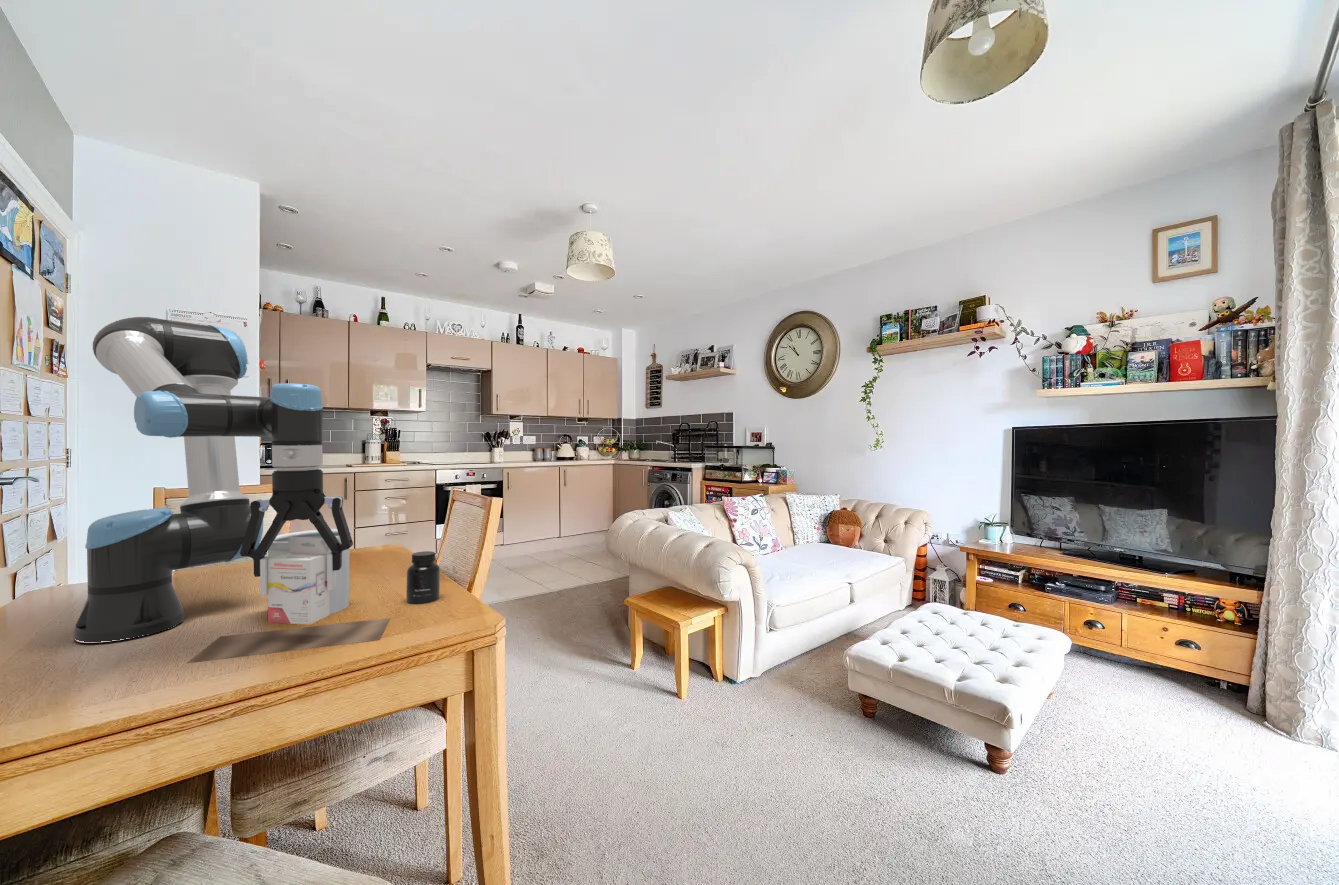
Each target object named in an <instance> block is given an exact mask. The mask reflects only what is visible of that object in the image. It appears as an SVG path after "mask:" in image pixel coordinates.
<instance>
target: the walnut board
mask: <svg viewBox="0 0 1339 885" xmlns="http://www.w3.org/2000/svg"><path fill="white" fill-rule="evenodd" d="M390 621H391V617H386V618H376V619H368V620H359V621H349V622H342V623H331V624H322V625H314V626H313V625H312V626H303V627H294V628H285V629H275V630H268V631H265V630H264V631H257V632H246V633H238V634H228V635H221V636H219V637H218V638H216V639H215V640H214V641H212V642H211V643H210V644H209V645H208V646H206V647H205V648H203V649H202V650H201V651H199V652H198V653H197V654H196V655H195V656H194V657H192V658H191V659H188V661H186V664H192V663H193V664H194V663H199V662H200V663H201V662H208V661H218V660H226V659H234V658H242V657H251V656H259V655H268V654H275V653H284V652H285V653H286V652H292V651H293V652H294V651H300V650H309V649H317V648H325V647H333V646H340V645H341V646H342V645H343V646H344V645H350V644H359V643H360V644H361V643H367V642H375V641H376V642H377V641H381V639H382V636H383V635H384V632H385V631H386V629H387V626H388V625H389V623H390Z"/></svg>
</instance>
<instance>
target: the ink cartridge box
mask: <svg viewBox="0 0 1339 885" xmlns="http://www.w3.org/2000/svg"><path fill="white" fill-rule="evenodd" d="M306 542H309V543H310V544H315V547H304V546H301V544H302V543H306ZM288 544H289V553H287V554H283V555H279V556H276V557H272V558H268V594H267V622H268V624H270V623H271V624H274V623H275V624H289V625H290V624H291V625H292V624H294V625H312V624H314V623H316V622H318V621H320V620H323V619H325V618H326V617H329V616H330V615H329V613H330V611H329V590H327V555H328V546H327V544H326V543H325V541H324V540H323V538H308V537H289V538H288Z"/></svg>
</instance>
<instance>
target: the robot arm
mask: <svg viewBox="0 0 1339 885" xmlns="http://www.w3.org/2000/svg"><path fill="white" fill-rule="evenodd" d="M92 351H93V355H94V356H95V358H96V360H97V362H99V364H101V366H102V367H104V368H105V369H106V370H107V371H108V372H110V373H113V374H115V375H117V376H118V377H119V378H120V379H121V380H122V382H123V383H124V384H125V385H126V386H127V388H129V390H130V391H131V392H132V394H134V396H135V397H136V398H135V401H134V407H133V418H134V422H135V424H136V425H135V428H136V429H137V431H138V432H139V433H140V434H142V435H144V436H147V437H165V438H170V439H171V438H183V441H184V455H185V456H184V457H185V463H186V464H185V466H186V476H187V479H186V480H187V490H188V492H187V493H188V497H186V498H187V499H185V501H183V502H182V503H181V504H180V505H179V508H180V513H173V511H172V509H170V508H167V507H154V508H150V509H146V508H145V509H139V510H134V511H133V510H132V511H127V512H122V513H118V514H117V513H116V514H112V515H108V516H105V517H101V518H99V519H97V520H95V521H93V522H91V524H90V525H89V526H88V528H87V532H86V533H87V534H86V542H85V549H86V557H87V558H86V562H87V563H86V564H87V565H86V566H87V569H86V570H87V576H86V577H87V598H86V600H85V603H84V605H83V608H82V610H81V612H80V615H79V617H78V619H77V621H76V623H75V626H74V628H73V629H74V630H73V632H74V635H73V639H74V638H75V639H76V640H79V641H84V642H101V641H112V640H120V639H126V638H133V637H138V636H142V635H147V634H151V635H153V634H152V633H155V634H157V633H156V632H158V633H160V632H159V631H162V630H165V629H168V628H170V629H172V628H171V627H173V626H175V625H177V626H178V624H179V623H181V622H182V621H183V620H185V610H184V609H185V608H184V607H183V604H182V603H181V600H180V598H179V596H178V594H177V592H176V589H175V587H174V586H173V571H177V570H182V569H189V568H195V567H201V566H206V565H213V564H214V565H215V564H219V563H228V562H231V561H235V560H239V559H245V558H251V559H252V560H253V576H254V577H255V578H260V579H259V581H260V583H259V584H260V585H259V586H260V587H259V588H260V590H259V592H260V597H265V596H268V558H271V556H268V550H269V548H270V546H271V545H272V543H273V541H274V540H275V538H276V536H277V535H279V533H280V532H281V530H282V528H283V527H284V525H285V524H286V523H287V522H289V521H295V520H300V521H306V520H307V521H308V520H309V522H310V523H311V524H312V525H313V526H314V528H315V530H317V531H318V532H319V534H320V535H321V537H322V538H323V540H324V541H325V543H326V544H327V546H328V547H329V549H330V550H331V552H330V553H329V554H328V555H327V590H332V589H333V588H334V587H335V586H336V570H340V569H341V567H342V551H344V550H347V549H349V550H350V549H351V548H352V547H353V546H354V542H353V538H352V535H350V533H351V531H350V529H349V526H348V522H347V520H346V516H345V514H344V513H345V512H344V510H343V506H344V505H343V504H344V498H343V497H342V496H336V497H334V496H333V497H332V496H331V497H330V496H327V495H325V493H324V471H323V470H322V469H321V468H320V467H322V466H324V464H323V462H324V461H323V409H324V404H323V401H322V400H323V399H322V390H321V388H320V387H319V386H317V385H313V384H306V383H292V382H291V383H288V382H287V383H286V382H285V383H283V382H282V383H281V382H280V383H275V384H273V385H272V386H271V391H270V392H271V393H270V396H253V395H252V396H251V395H232V393H231V391H232V389H234V388H235V387H236V386H238V384H239V379H242V378H244V376H245V375H246V373H247V371H248V366H247V364H248V354H247V349H246V347H245V344H244V342H243V340H242V338H241V337H240V335H238V334H237V333H236V332H235V331H234V330H232V329H228V328H223V327H217V326H215V325H212V324H208V325H205V324H200V323H199V324H198V323H191V322H184V321H177V320H170V319H161V318H157V317H150V316H136V317H135V316H134V317H127V318H122V319H118V320H115V321H113V322H111V323H109V324H107V325H105V326H104V327H102V328H101V329H100V330H99V331H98V332H97V333H96V335H95V336H94V338H93V341H92ZM236 437H248V438H249V437H250V438H251V437H252V438H253V437H257V438H258V437H259V438H271V460H272V461H271V463H272V464H271V465H272V466H271V467H273V468H276V470H274V471H273V472H271V474H272V475H271V476H272V478H271V479H272V480H271V481H272V482H271V483H272V484H271V485H272V486H271V487H272V491H271V492H272V495H271V497H270V499H256V500H253V501H251V502H250V497H248V496H247V495H245V494H244V493H242V492H241V490H240V489H241V488H240V479H239V470H238V467H239V466H238V458H237V449H236V447H237V445H236ZM324 504H326V505H327V508H328V509H330V510H331V514H332V517H333V521H334V524H335V527H336V529H337V530H338V534H339V537H340V540H341V543H342V544H340V543H339V541H338V540H337V538H336V537H335V535H334V534H333V532H332V531H331V529H332V528H330V526H329V524H328V523H327V522H326V520H325V518H324V515H323V513H322V512H321V511H320V509H321V508H322V507H323V506H324ZM269 507H271V508H272V509H273V510H274V511H275V512H276V515H275V517H274V518H273V520H272V522H271V524H270V526H269V528H268V529H267V531H266V532H265V534H264V536H263V533H264V518H265V514H266V512H267V511H268V510H269ZM349 531H350V532H349ZM266 555H267V556H266ZM183 622H184V621H183ZM183 622H182V623H183ZM182 623H181V624H182ZM179 625H180V624H179ZM175 627H176V626H175ZM173 628H174V627H173ZM168 630H169V629H168ZM165 631H166V630H165ZM162 632H163V631H162ZM147 636H148V635H147Z"/></svg>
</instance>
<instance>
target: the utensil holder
mask: <svg viewBox="0 0 1339 885" xmlns="http://www.w3.org/2000/svg"><path fill="white" fill-rule="evenodd" d="M330 529H331V531H332V532H333V534H334V535H335V537H336V538H337V540H338V541H339V543H340V544H342V543H341V540H340V537H339V534H338V530H337V528H330ZM349 532H350V535H351V530H349ZM351 536H352V535H351ZM289 537H308V538H322V537H321V535H320V534H319V532H318V531H317V529H313V530H311V529H310V530H303V531H295V532H288V533H283V534H278V535H277V536H276V538H275V540H274V541H273V543H272V545H271V546H270V548H269V550H268V551H267V556H271V558H272V557H276V556H279V555H283V554H287V553H289V544H288V538H289ZM301 546H304V547H315V544H310V543H309V542H306V543H302V544H301ZM330 552H331V550H330V549H329V547H328V554H329V553H330ZM350 590H351V589H350V548H349V549H347V550H344V551H342V567H341V569H340V570H336V586H335V587H334V588H333V589H332V590H329V611H330V613H329V616H330V615H333V614H336V613H338V612H341V611H343V610H345V609H346V608H348V607H349V605H350V594H351V593H350V592H351V591H350Z"/></svg>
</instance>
